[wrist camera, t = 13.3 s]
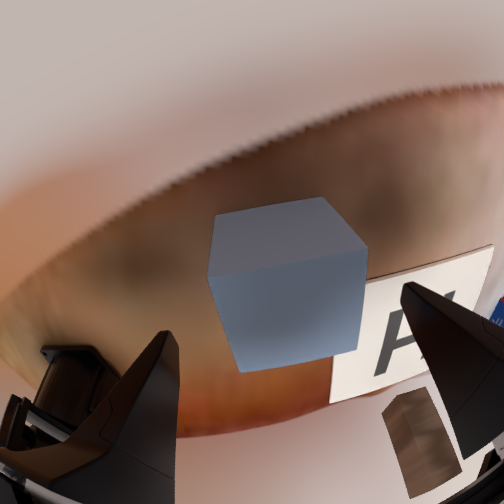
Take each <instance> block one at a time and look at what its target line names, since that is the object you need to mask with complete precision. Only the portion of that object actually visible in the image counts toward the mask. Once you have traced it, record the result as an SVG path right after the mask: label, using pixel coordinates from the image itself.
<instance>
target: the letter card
mask: <svg viewBox="0 0 504 504" xmlns="http://www.w3.org/2000/svg"><path fill="white" fill-rule="evenodd" d="M494 247H495V246H494V245H489V246H486V247H483V248H480V249H477V250H474V251H471V252H468V253H465V254H461V255H458V256H455V257H452V258H448V259H445V260H442V261H438V262H435V263H431V264H428V265H424V266H421V267H417V268H413V269H410V270H406V271H402V272H399V273H395V274H391V275H387V276H383V277H379V278H375V279H371V280H367V281H366V286H365V295H364V304H363V312H362V320H361V327H360V333H359V340H358V346H357V350H354V351H350V352H346V353H342V354H338V355H334V356H333V361H332V374H331V385H330V395H329V403H333V402H337V401H341V400H345V399H348V398H352V397H355V396H358V395H362V394H365V393H368V392H371V391H374V390H377V389H380V388H383V387H386V386H389V385H391V384H394V383H397V382H399V381H402V380H405V379H407V378H410V377H412V376H415V375H417V374H419V373H422V372H424V371H426V370H429V368H428V366H427V364H426V361H425V359H424V357H423V355H422V353H421V351H420V349H419V347H418V345H417V343H416V341H415V339H414V337H413V334H412V332H411V330H410V327H409V324H408V322H407V319H406V317H405V314H404V312H403V309H402V307H401V304H400V297H401V292H402V287H403V284H404V283H407V282H410V281H414V282H416V283H418V284H420V285H422V286H424V287H426V288H428V289H430V290H432V291H434V292H436V293H438V294H440V295H442V296H444V297H446V298H448V299H450V300H452V301H454V302H456V303H458V304H459V305H461V306H463V307H465V308H467V309H469V310H471V311H473V309H474V307H475V304H476V302H477V299H478V297H479V294H480V291H481V289H482V286H483V283H484V280H485V277H486V274H487V271H488V268H489V264H490V261H491V258H492V254H493V250H494Z"/></svg>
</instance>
